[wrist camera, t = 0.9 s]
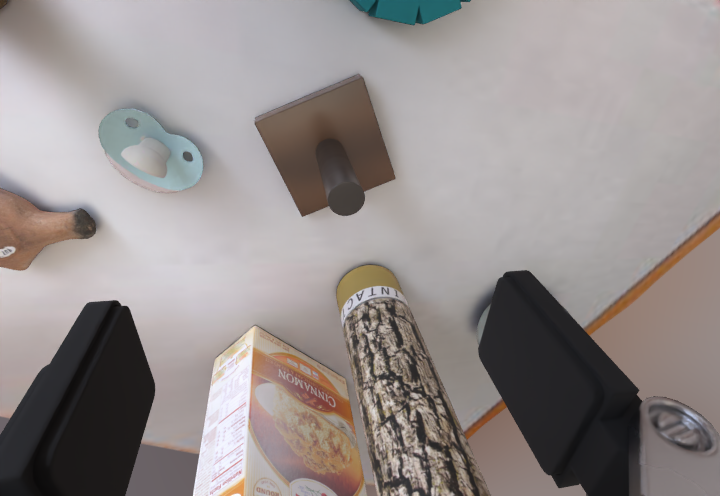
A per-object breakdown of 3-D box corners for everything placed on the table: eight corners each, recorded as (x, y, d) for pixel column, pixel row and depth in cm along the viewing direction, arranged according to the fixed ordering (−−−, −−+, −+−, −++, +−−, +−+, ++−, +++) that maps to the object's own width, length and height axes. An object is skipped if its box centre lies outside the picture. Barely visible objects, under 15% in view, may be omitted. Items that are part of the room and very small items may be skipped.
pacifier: (180, 203, 35) (216, 149, 32) (162, 242, 29) (203, 181, 27) (90, 155, 31) (124, 91, 29) (52, 189, 26) (89, 115, 24)
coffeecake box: (347, 378, 50) (382, 559, 34) (308, 408, 52) (323, 594, 36) (255, 321, 43) (244, 520, 27) (212, 359, 45) (177, 567, 28)
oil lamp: (66, 270, 37) (109, 208, 34) (52, 300, 34) (99, 234, 31) (-61, 224, 31) (-19, 148, 29) (-90, 255, 28) (-47, 172, 26)
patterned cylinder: (404, 296, 45) (517, 557, 24) (349, 320, 45) (413, 596, 24) (385, 251, 41) (499, 515, 20) (325, 277, 41) (376, 562, 21)
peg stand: (254, 117, 32) (247, 164, 23) (359, 73, 31) (392, 103, 23) (301, 209, 37) (309, 276, 28) (391, 172, 36) (428, 228, 28)
